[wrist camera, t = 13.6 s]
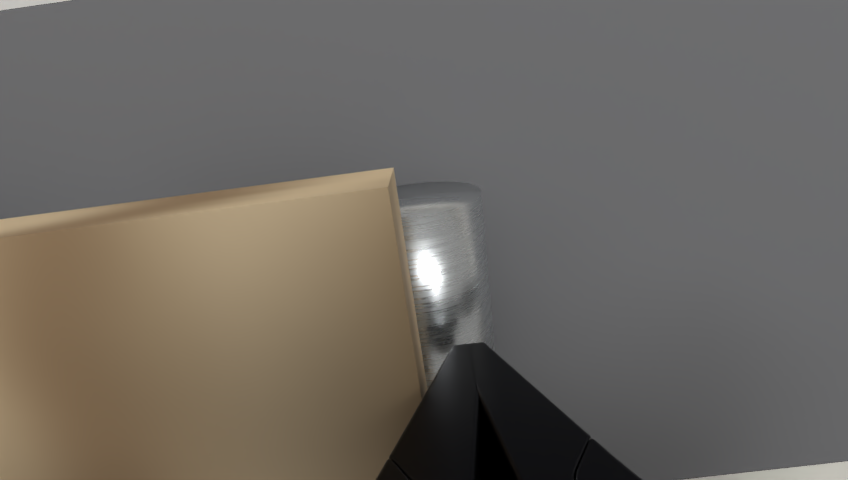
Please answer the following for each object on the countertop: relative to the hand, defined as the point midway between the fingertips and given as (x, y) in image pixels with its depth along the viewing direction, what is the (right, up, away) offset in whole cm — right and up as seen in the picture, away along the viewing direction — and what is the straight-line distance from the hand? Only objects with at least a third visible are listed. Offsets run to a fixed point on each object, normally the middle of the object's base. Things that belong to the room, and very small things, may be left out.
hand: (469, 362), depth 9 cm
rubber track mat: (-2, +1, +4) cm, 4 cm away
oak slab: (-6, -1, 0) cm, 6 cm away
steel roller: (-2, 0, +1) cm, 2 cm away
